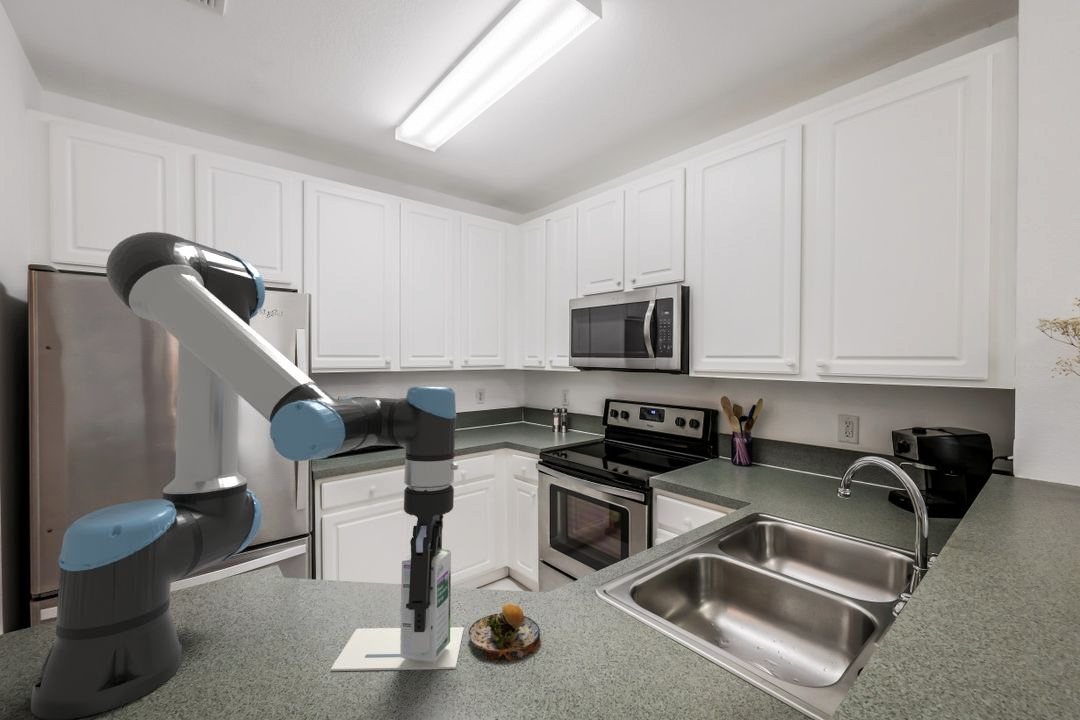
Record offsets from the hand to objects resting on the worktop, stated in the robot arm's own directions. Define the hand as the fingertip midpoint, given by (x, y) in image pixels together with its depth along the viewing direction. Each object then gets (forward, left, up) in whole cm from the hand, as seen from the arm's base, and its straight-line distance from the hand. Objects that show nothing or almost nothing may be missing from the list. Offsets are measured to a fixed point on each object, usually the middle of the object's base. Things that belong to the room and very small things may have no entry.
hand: (425, 637), depth 70 cm
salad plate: (+12, +5, -3) cm, 13 cm away
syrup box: (0, 0, -2) cm, 2 cm away
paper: (-4, +3, -3) cm, 6 cm away
